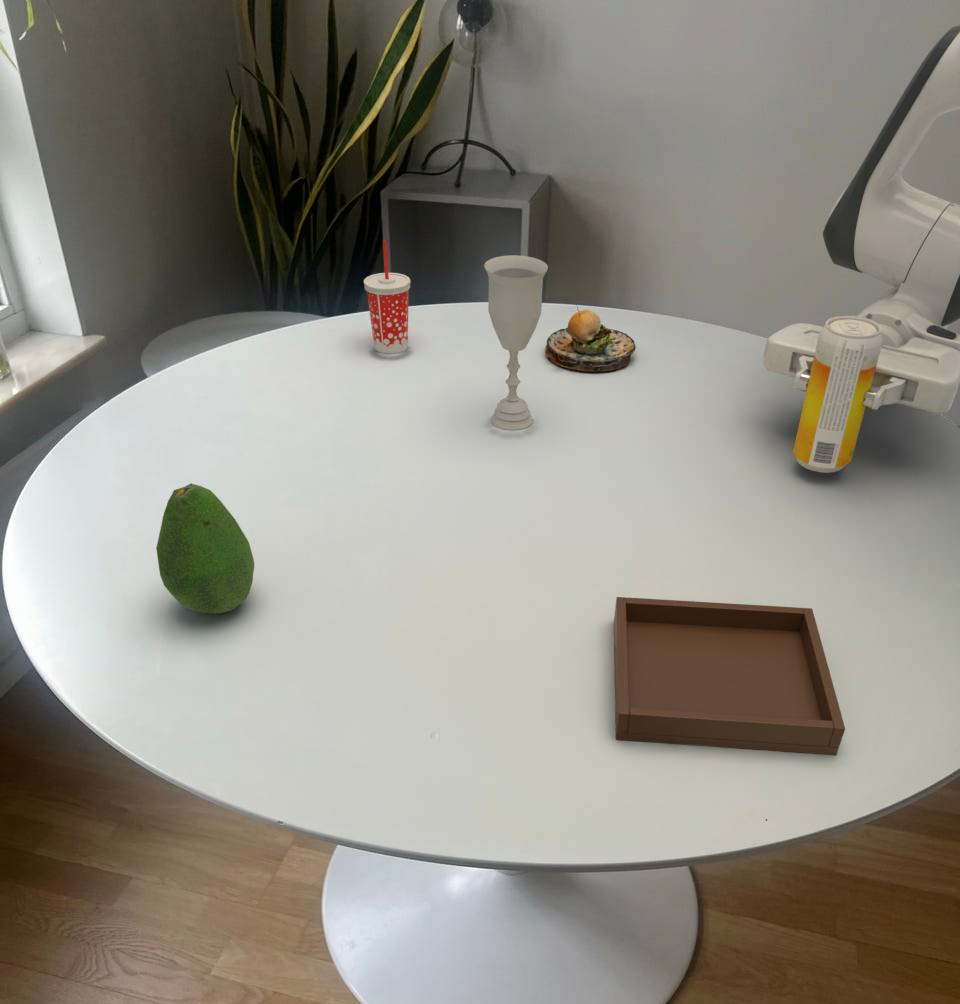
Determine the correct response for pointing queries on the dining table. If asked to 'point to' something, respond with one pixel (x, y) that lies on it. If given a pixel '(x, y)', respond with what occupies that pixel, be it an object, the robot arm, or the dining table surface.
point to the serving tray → (723, 676)
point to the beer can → (837, 392)
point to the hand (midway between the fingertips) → (835, 392)
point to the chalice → (514, 324)
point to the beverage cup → (388, 308)
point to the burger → (589, 345)
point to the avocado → (203, 552)
